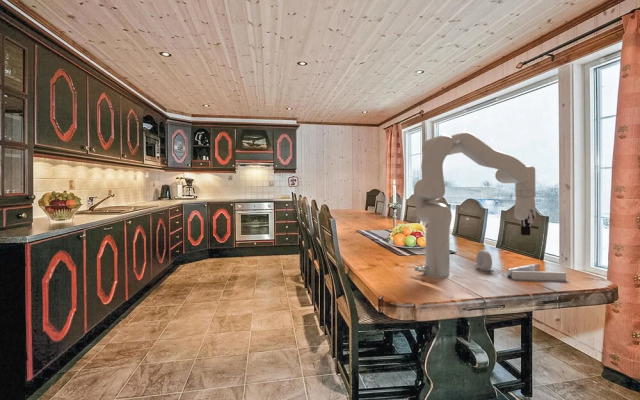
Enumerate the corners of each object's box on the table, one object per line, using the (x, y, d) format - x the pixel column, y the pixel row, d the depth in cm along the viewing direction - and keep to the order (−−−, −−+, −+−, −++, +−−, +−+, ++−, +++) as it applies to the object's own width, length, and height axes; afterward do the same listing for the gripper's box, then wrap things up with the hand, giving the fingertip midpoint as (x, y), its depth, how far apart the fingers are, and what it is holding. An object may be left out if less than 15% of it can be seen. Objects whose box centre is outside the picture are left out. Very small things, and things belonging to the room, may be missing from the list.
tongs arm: (510, 277, 128) (510, 270, 128) (506, 276, 130) (506, 268, 129) (540, 271, 136) (540, 264, 136) (535, 270, 138) (535, 263, 138)
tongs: (511, 283, 124) (511, 273, 124) (499, 275, 136) (499, 265, 136) (570, 285, 121) (570, 274, 121) (552, 276, 133) (553, 266, 133)
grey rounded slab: (493, 274, 137) (493, 252, 137) (485, 275, 137) (485, 252, 137) (482, 268, 147) (482, 247, 147) (474, 269, 147) (474, 247, 147)
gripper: (508, 193, 149) (509, 232, 149) (524, 194, 134) (524, 237, 135) (526, 193, 147) (526, 232, 148) (543, 194, 133) (543, 237, 133)
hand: (525, 234), depth 141 cm, fingers closed
